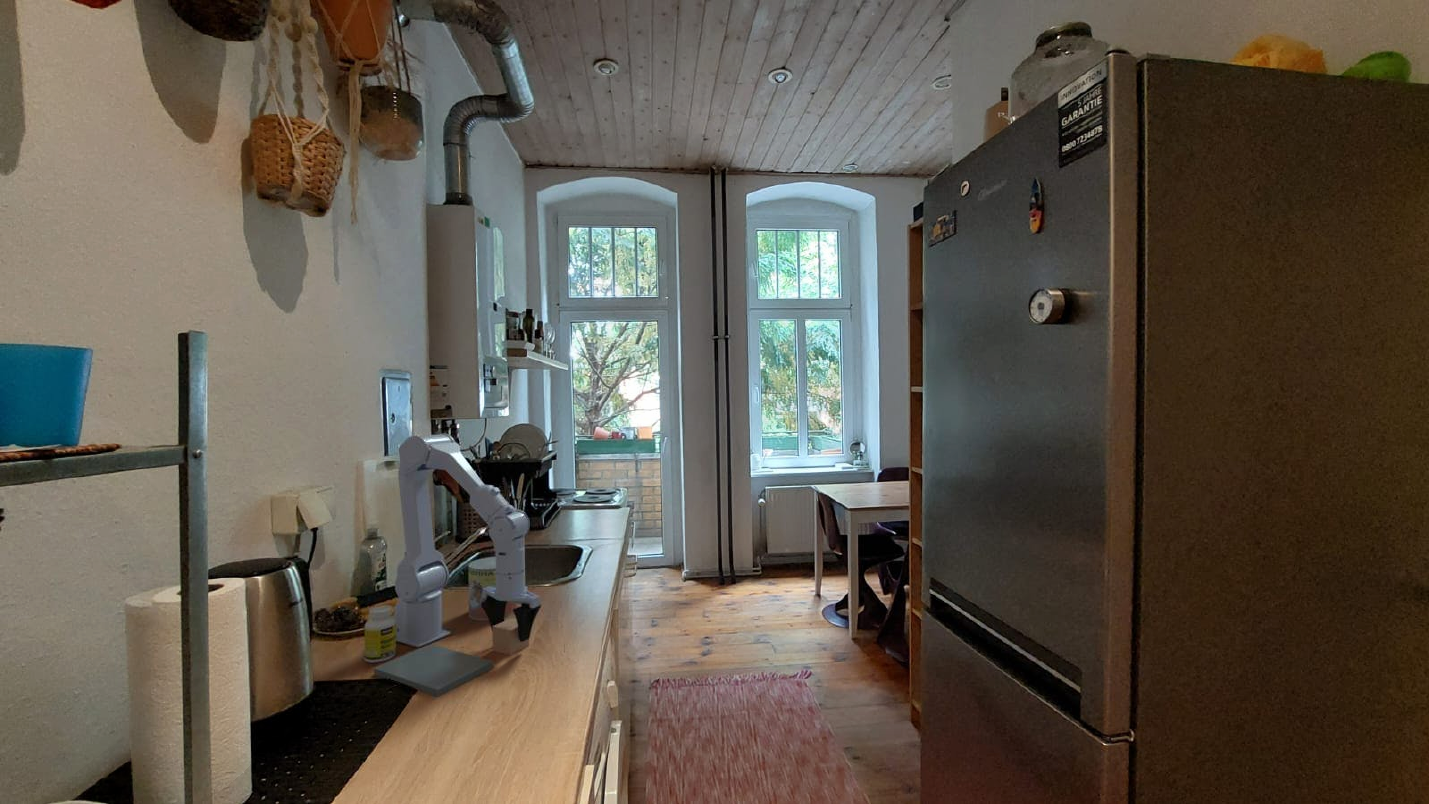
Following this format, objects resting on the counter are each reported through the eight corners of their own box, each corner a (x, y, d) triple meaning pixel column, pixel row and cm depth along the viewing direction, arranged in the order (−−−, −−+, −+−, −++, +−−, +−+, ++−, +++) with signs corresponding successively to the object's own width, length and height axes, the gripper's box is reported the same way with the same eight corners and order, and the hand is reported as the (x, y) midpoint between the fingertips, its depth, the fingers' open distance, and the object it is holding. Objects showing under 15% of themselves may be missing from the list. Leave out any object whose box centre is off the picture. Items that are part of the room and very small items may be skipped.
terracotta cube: (492, 650, 117) (492, 626, 117) (511, 641, 121) (511, 618, 121) (510, 655, 115) (510, 630, 115) (529, 646, 119) (528, 622, 119)
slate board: (374, 674, 107) (374, 668, 107) (431, 649, 117) (431, 643, 117) (437, 696, 98) (437, 689, 98) (493, 667, 109) (493, 661, 109)
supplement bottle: (381, 664, 111) (381, 614, 111) (358, 662, 112) (357, 612, 112) (402, 652, 116) (402, 604, 116) (379, 650, 117) (379, 603, 117)
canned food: (458, 614, 137) (458, 564, 137) (498, 600, 147) (497, 554, 147) (488, 623, 131) (488, 571, 131) (527, 608, 141) (527, 560, 141)
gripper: (550, 570, 118) (551, 635, 118) (500, 562, 125) (501, 623, 125) (524, 579, 112) (525, 648, 112) (473, 570, 119) (474, 635, 119)
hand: (511, 636), depth 118 cm, fingers open, 7 cm apart
